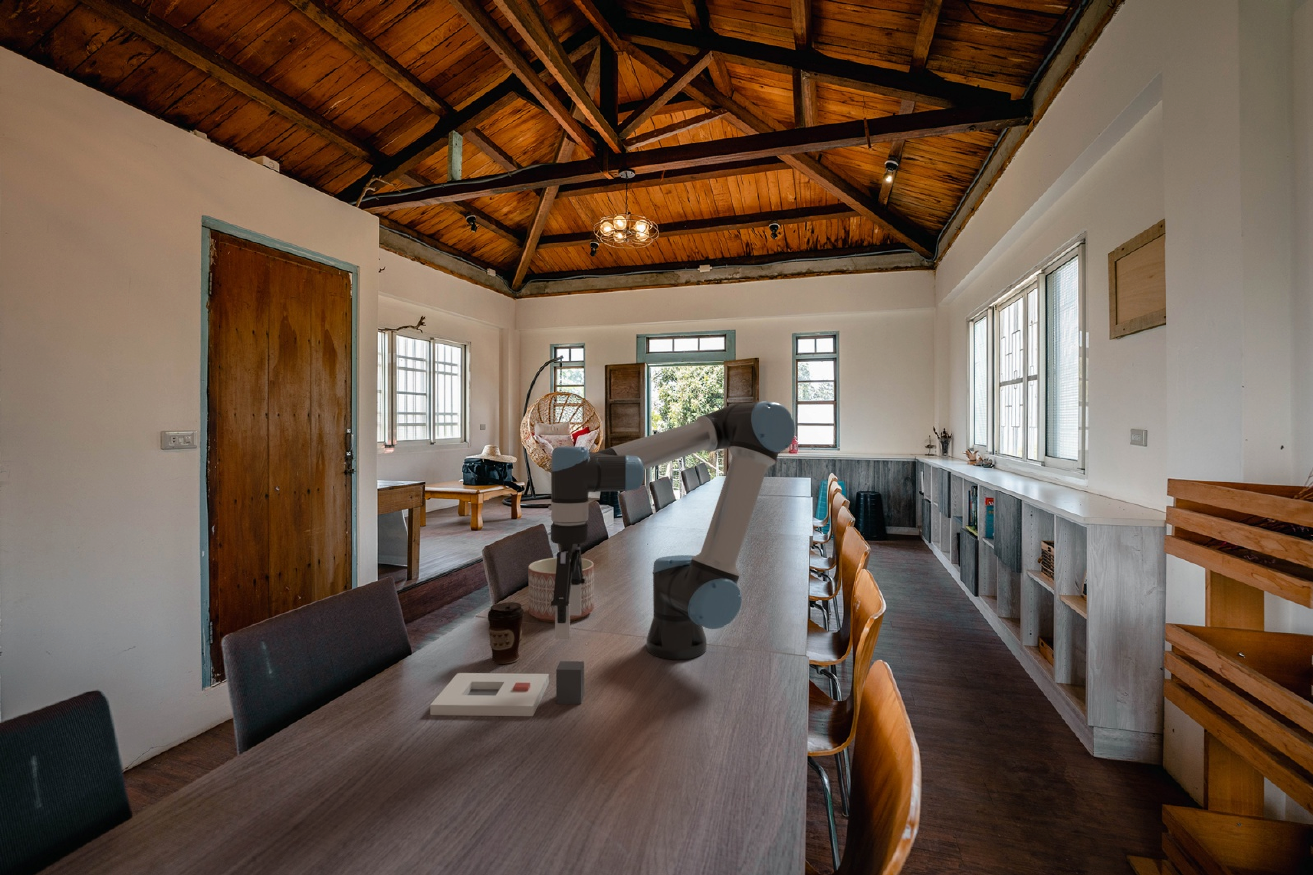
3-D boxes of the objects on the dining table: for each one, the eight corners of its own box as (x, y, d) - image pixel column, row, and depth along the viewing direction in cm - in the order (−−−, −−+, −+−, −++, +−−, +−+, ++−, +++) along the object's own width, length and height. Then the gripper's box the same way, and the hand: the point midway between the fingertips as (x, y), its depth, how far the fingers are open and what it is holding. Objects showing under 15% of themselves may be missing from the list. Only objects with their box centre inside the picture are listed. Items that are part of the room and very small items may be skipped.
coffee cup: (513, 668, 129) (513, 612, 129) (480, 665, 131) (480, 610, 130) (529, 653, 138) (529, 601, 137) (498, 651, 139) (498, 599, 139)
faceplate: (548, 683, 122) (548, 670, 122) (533, 716, 108) (532, 701, 108) (457, 682, 122) (457, 669, 122) (430, 715, 108) (430, 700, 108)
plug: (584, 694, 117) (584, 661, 116) (581, 704, 113) (580, 669, 112) (560, 694, 117) (560, 661, 117) (556, 703, 113) (556, 669, 113)
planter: (606, 610, 170) (606, 562, 170) (564, 630, 154) (563, 576, 153) (559, 600, 180) (559, 554, 180) (514, 617, 164) (514, 567, 164)
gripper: (563, 512, 127) (562, 606, 127) (536, 533, 102) (535, 649, 102) (596, 513, 126) (595, 606, 127) (577, 533, 101) (576, 650, 102)
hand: (568, 626), depth 114 cm, fingers open, 13 cm apart
